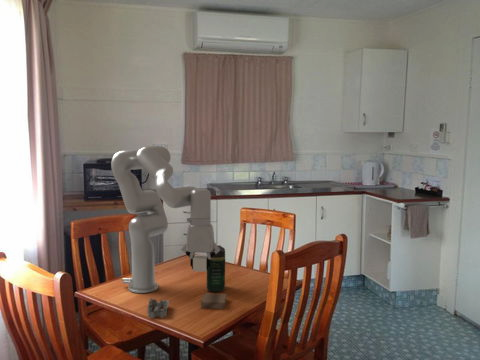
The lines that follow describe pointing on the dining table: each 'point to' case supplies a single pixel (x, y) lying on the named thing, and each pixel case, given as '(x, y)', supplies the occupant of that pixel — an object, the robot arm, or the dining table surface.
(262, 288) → the dining table surface
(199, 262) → the cube
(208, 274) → the coffee jar
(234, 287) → the dining table surface
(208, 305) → the base
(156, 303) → the egg carton
